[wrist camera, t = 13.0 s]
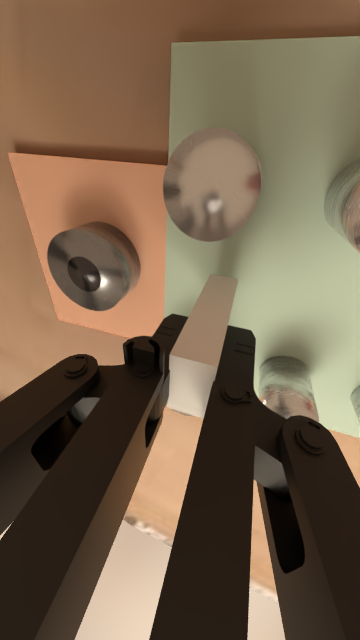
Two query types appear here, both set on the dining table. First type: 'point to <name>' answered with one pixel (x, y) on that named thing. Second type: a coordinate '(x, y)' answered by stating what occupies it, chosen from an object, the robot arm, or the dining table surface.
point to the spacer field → (279, 202)
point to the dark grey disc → (94, 265)
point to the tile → (100, 206)
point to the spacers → (232, 214)
